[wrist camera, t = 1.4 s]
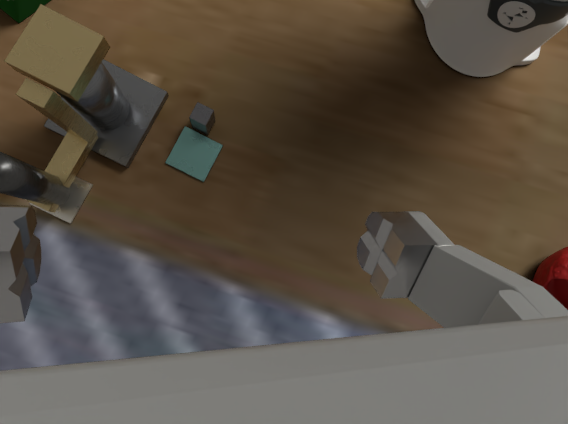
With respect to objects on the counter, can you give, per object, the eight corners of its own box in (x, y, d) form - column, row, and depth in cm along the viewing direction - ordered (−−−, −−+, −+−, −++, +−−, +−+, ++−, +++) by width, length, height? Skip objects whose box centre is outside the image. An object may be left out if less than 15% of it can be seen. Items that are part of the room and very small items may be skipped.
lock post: (92, 56, 48) (41, -15, 36) (232, 128, 50) (232, 84, 37) (9, 194, 46) (-78, 171, 33) (159, 265, 47) (132, 270, 34)
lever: (94, 73, 46) (40, 3, 33) (139, 96, 47) (103, 36, 34) (21, 196, 44) (-67, 172, 31) (69, 219, 44) (2, 205, 31)
